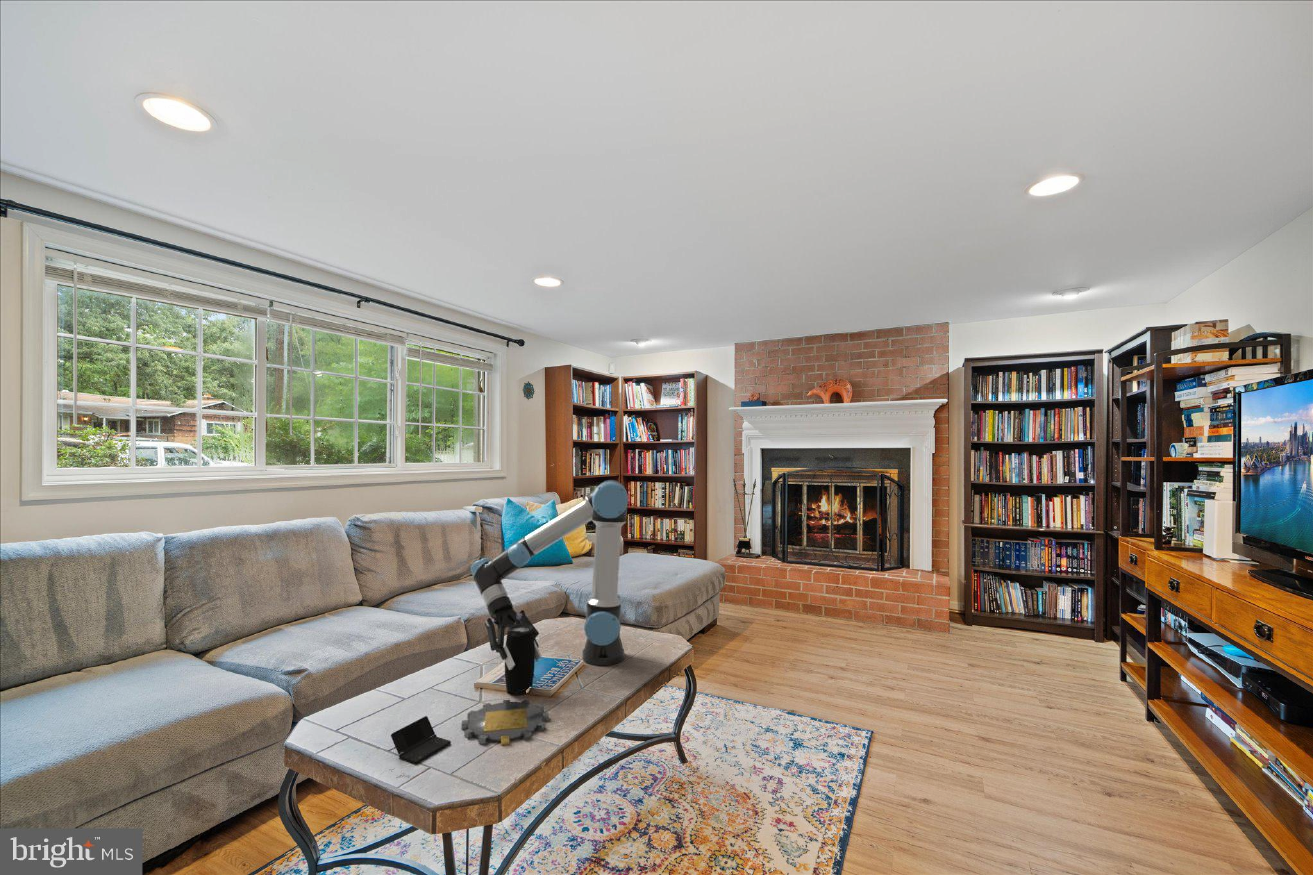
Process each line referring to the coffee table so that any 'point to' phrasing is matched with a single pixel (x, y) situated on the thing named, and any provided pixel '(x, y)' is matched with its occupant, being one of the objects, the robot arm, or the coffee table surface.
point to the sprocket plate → (505, 722)
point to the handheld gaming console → (418, 741)
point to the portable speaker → (520, 659)
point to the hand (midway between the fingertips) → (525, 662)
